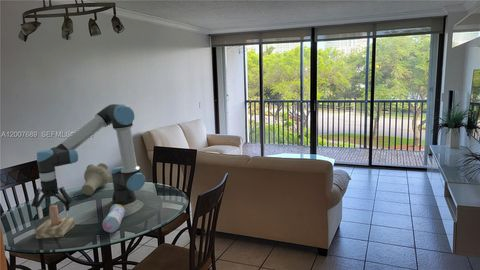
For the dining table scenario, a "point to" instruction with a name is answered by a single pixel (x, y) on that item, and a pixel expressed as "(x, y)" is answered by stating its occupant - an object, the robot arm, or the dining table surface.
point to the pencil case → (113, 218)
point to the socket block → (54, 228)
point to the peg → (54, 215)
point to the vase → (95, 178)
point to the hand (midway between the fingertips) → (54, 217)
